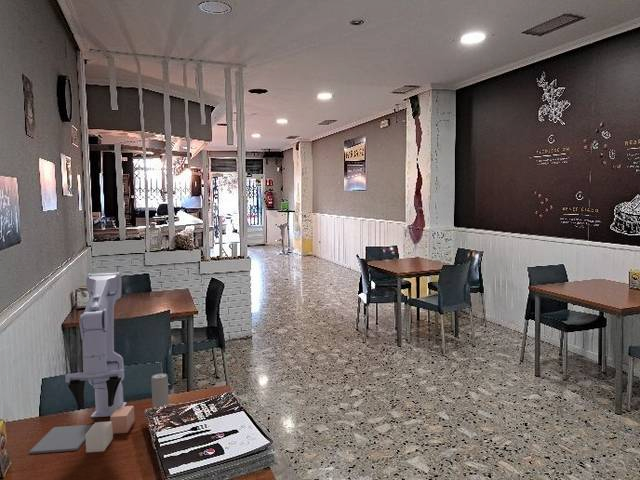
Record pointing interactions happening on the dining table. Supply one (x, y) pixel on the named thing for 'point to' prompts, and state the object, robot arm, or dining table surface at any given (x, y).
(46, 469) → the dining table surface
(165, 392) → the beverage can
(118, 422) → the terracotta brick
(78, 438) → the base mat
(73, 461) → the dining table surface
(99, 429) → the white brick
